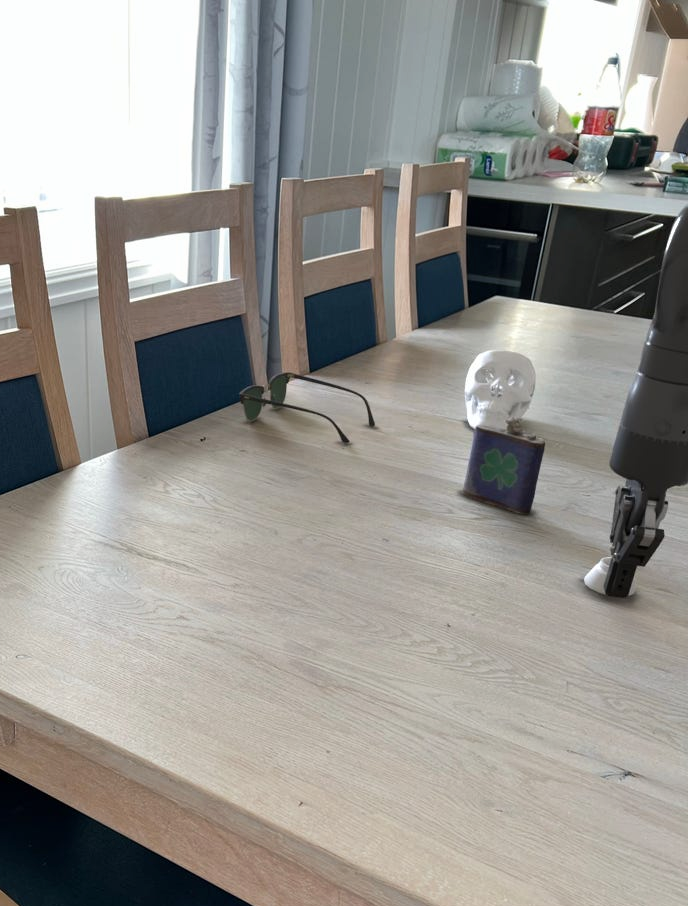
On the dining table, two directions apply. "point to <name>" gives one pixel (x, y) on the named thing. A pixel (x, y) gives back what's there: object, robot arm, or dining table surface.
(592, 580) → the small white bowl
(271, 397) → the sunglasses
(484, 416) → the skull bowl
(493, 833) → the dining table surface
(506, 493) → the flask
